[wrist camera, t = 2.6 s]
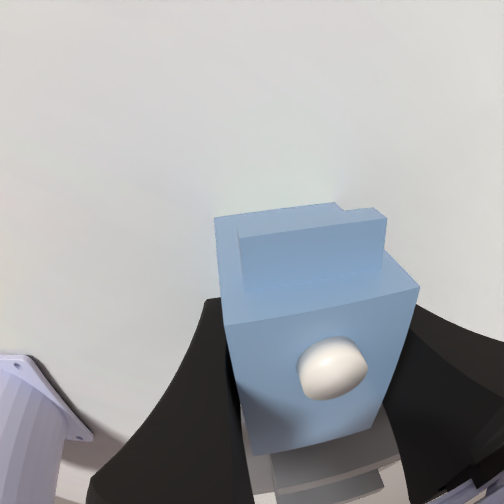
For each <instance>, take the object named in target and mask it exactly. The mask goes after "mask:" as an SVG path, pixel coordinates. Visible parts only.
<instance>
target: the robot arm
mask: <svg viewBox="0 0 504 504" xmlns="http://www.w3.org/2000/svg"><path fill="white" fill-rule="evenodd" d="M382 403H383V406H384V409H385V411H386V414H387V417H388V419H389V422H390V425H391V428H392V431H393V434H394V437H395V440H396V443H397V447H398V450H399V454H400V458H401V462H402V465H403V470H404V474H405V479H406V484H407V489H408V496H409V501H410V503H411V504H425V503H427V502H429V501H431V500H433V499H435V498H437V497H439V496H441V495H442V494H444V493H446V492H448V493H447V494H444V495H443V496H441V497H439V498H437V499H435V500H433V501H431V502H429V503H427V504H464V503H466V502H467V501H469V500H470V499H472V498H473V497H475V496H476V495H478V494H479V493H480V492H482V491H484V490H485V489H486V488H487V492H486V495H485V497H483V498H482V499H480V500H479V501H477V502H475V503H474V504H504V342H502V341H498V340H495V339H492V338H489V337H486V336H483V335H480V334H477V333H475V332H472V331H469V330H467V329H465V328H462V327H460V326H458V325H456V324H453V323H451V322H449V321H447V320H445V319H443V318H441V317H439V316H437V315H435V314H433V313H431V312H430V311H428V310H426V309H424V308H422V307H420V306H419V305H417V304H416V305H415V308H414V312H413V315H412V319H411V322H410V326H409V329H408V332H407V335H406V339H405V342H404V345H403V348H402V351H401V354H400V357H399V359H398V362H397V365H396V368H395V371H394V373H393V376H392V379H391V381H390V384H389V386H388V389H387V391H386V394H385V396H384V399H383V401H382ZM65 440H74V441H84V442H92V441H93V440H94V435H93V434H92V433H91V432H90V431H89V430H88V428H87V427H86V426H85V425H84V424H83V423H82V422H81V421H80V420H79V419H78V417H77V416H76V415H75V414H74V413H73V412H72V411H71V409H70V408H69V407H68V406H67V405H66V403H65V402H64V401H63V400H62V399H61V397H60V396H59V395H58V394H57V392H56V391H55V390H54V389H53V387H52V386H51V385H50V383H49V382H48V381H47V379H46V378H45V377H44V375H43V374H42V373H41V371H40V370H39V368H38V367H37V366H36V364H35V363H34V361H33V360H32V359H31V358H30V357H28V356H26V355H5V354H0V504H54V499H55V493H56V486H57V479H58V473H59V467H60V462H61V457H62V452H63V447H64V442H65ZM86 504H255V502H254V497H253V492H252V487H251V482H250V476H249V471H248V465H247V459H246V454H245V448H244V442H243V434H242V424H241V406H240V398H239V394H238V389H237V385H236V380H235V376H234V371H233V367H232V362H231V357H230V353H229V348H228V343H227V338H226V333H225V328H224V321H223V312H222V302H221V297H219V298H212V299H207V300H206V301H205V303H204V307H203V311H202V314H201V317H200V320H199V323H198V326H197V329H196V331H195V334H194V336H193V339H192V341H191V343H190V346H189V348H188V350H187V352H186V354H185V356H184V358H183V361H182V363H181V365H180V367H179V369H178V371H177V372H176V374H175V376H174V378H173V380H172V381H171V383H170V385H169V386H168V388H167V390H166V391H165V393H164V395H163V396H162V398H161V399H160V401H159V402H158V403H157V405H156V406H155V408H154V409H153V411H152V412H151V414H150V415H149V416H148V418H147V419H146V420H145V421H144V423H143V424H142V425H141V426H140V428H139V429H138V430H137V431H136V432H135V434H134V435H133V436H132V437H131V438H130V439H129V441H128V442H127V443H126V444H125V445H124V446H123V447H122V448H121V450H120V451H119V452H118V453H117V454H116V455H115V456H114V457H113V458H112V459H111V460H109V461H108V462H107V463H106V464H105V465H104V466H103V467H102V468H101V469H100V470H99V471H98V472H97V473H96V474H95V475H93V476H92V477H91V479H90V484H89V488H88V491H87V497H86Z"/></svg>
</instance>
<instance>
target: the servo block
mask: <svg viewBox="0 0 504 504" xmlns="http://www.w3.org/2000/svg"><path fill="white" fill-rule="evenodd" d="M214 223H215V236H216V248H217V259H218V270H219V281H220V292H221V302H222V312H223V321H224V328H225V333H226V338H227V343H228V348H229V353H230V357H231V362H232V367H233V371H234V376H235V380H236V385H237V389H238V394H239V398H240V403H241V407H242V411H243V416H244V420H245V424H246V428H247V432H248V436H249V441H250V445H251V449H252V453H253V456H259V455H265V454H271V453H277V452H282V451H287V450H292V449H297V448H301V447H306V446H310V445H314V444H318V443H322V442H326V441H330V440H333V439H337V438H341V437H344V436H347V435H351V434H354V433H357V432H360V431H363V430H367V429H370V428H371V426H372V424H373V422H374V420H375V417H376V415H377V413H378V411H379V408H380V406H381V404H382V401H383V399H384V396H385V394H386V391H387V389H388V386H389V384H390V381H391V379H392V376H393V373H394V371H395V368H396V365H397V362H398V359H399V357H400V354H401V351H402V348H403V345H404V342H405V339H406V335H407V332H408V329H409V326H410V322H411V319H412V315H413V312H414V308H415V305H416V301H417V297H418V293H419V289H420V286H419V285H418V284H417V283H416V282H415V281H414V279H413V278H412V277H411V276H410V275H409V274H408V273H407V272H406V271H405V270H404V269H403V268H402V267H401V266H400V265H399V264H398V263H397V262H396V261H395V260H394V259H393V258H392V257H391V256H390V255H389V254H388V253H387V252H386V251H385V250H384V242H385V234H386V225H387V218H386V217H385V216H384V215H383V214H381V213H380V212H379V211H377V210H376V209H375V208H374V207H373V208H364V209H356V210H347V211H344V210H343V209H341V208H340V207H339V206H338V205H337V204H336V203H335V202H334V203H325V204H316V205H308V206H300V207H291V208H283V209H276V210H268V211H260V212H253V213H245V214H238V215H231V216H224V217H217V218H214Z"/></svg>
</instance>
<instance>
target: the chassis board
mask: <svg viewBox="0 0 504 504" xmlns="http://www.w3.org/2000/svg"><path fill="white" fill-rule="evenodd" d="M241 424H242V434H243V442H244V448H245V454H246V459H247V465H248V471H249V476H250V482H251V487H252V492H253V495H256V494H263V493H269V492H275V497H276V501H277V504H344V503H348V502H351V501H354V500H357V499H360V498H363V497H366V496H369V495H371V494H374V493H377V492H379V491H381V490H382V489H383V488H384V484H383V482H382V479H381V477H380V474H379V472H378V468H380V467H382V466H385V465H387V464H390V463H393V462H395V461H397V460H400V459H401V458H400V454H399V450H398V447H397V443H396V440H395V437H394V434H393V431H392V428H391V425H390V422H389V419H388V417H387V414H386V411H385V409H384V406H383V403H382V404H381V406H380V408H379V411H378V413H377V415H376V417H375V420H374V422H373V424H372V426H371V428H370V429H367V430H363V431H360V432H357V433H354V434H351V435H347V436H344V437H341V438H337V439H333V440H330V441H326V442H322V443H318V444H314V445H310V446H306V447H301V448H297V449H292V450H287V451H282V452H277V453H271V454H265V455H259V456H253V453H252V449H251V445H250V441H249V436H248V432H247V428H246V424H245V420H244V416H243V411H242V407H241Z"/></svg>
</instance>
